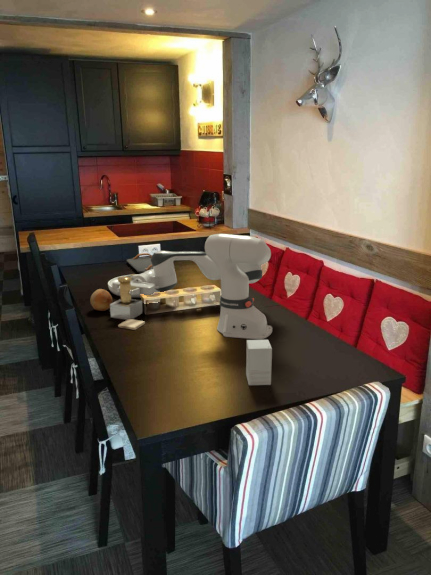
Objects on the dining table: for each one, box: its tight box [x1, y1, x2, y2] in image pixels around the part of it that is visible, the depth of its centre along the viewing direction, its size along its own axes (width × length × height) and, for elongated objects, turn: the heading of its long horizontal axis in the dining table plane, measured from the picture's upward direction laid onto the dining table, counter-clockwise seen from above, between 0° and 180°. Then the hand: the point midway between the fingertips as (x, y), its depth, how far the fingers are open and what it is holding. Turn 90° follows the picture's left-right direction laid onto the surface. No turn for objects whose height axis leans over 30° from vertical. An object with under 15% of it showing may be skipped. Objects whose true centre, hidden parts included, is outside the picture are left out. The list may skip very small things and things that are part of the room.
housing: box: [109, 298, 143, 321], centre depth 214 cm, size 10×10×6 cm
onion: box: [89, 288, 113, 312], centre depth 219 cm, size 10×10×10 cm
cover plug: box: [118, 275, 132, 305], centre depth 212 cm, size 6×6×17 cm
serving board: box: [126, 252, 176, 274], centre depth 298 cm, size 39×23×6 cm, turn 22°
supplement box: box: [245, 339, 273, 386], centre depth 153 cm, size 7×7×13 cm
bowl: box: [107, 273, 161, 299], centre depth 250 cm, size 30×30×8 cm
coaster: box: [117, 318, 146, 331], centre depth 202 cm, size 8×8×1 cm
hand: (124, 291), depth 211 cm, fingers open, 5 cm apart
